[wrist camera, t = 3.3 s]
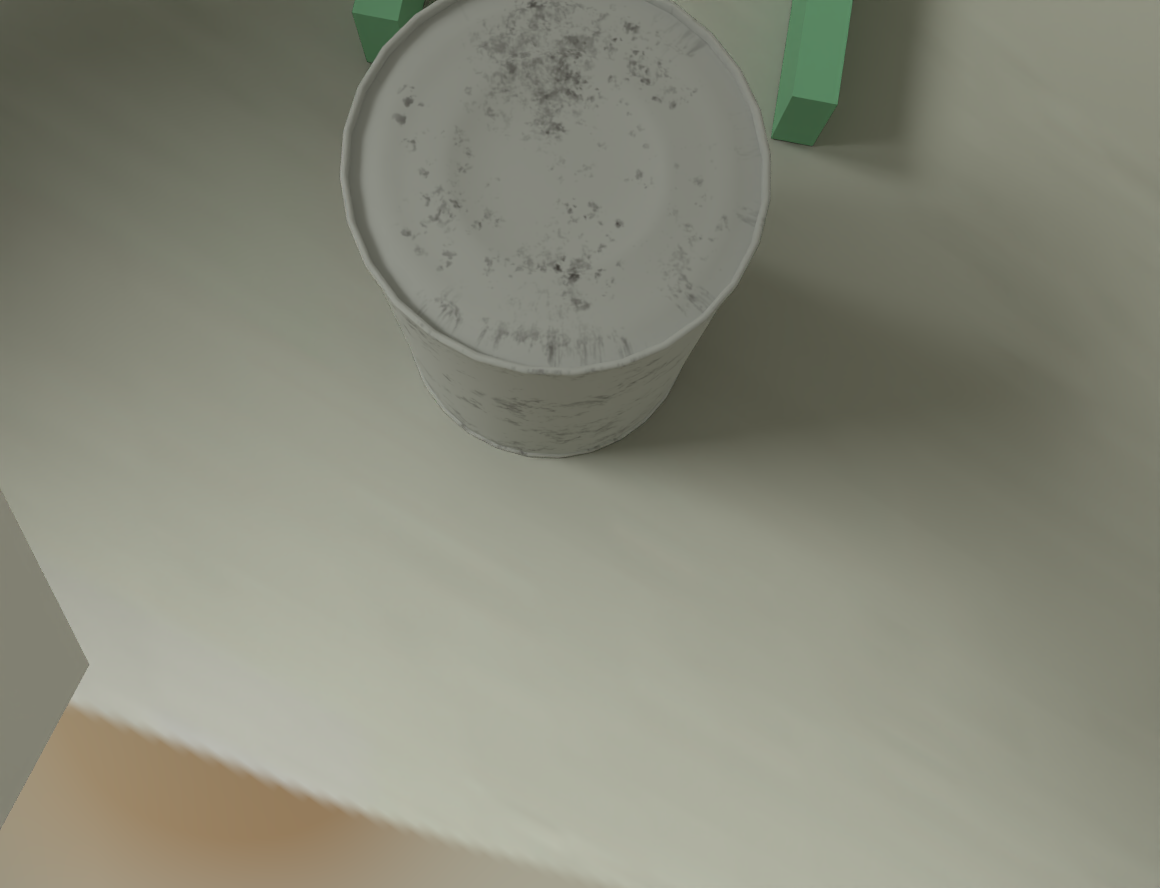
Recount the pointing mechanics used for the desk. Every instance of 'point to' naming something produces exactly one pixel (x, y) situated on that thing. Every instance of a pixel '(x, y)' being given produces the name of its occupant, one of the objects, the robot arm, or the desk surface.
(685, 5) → the desk surface
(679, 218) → the speckled concrete drum
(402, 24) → the green angular frame
